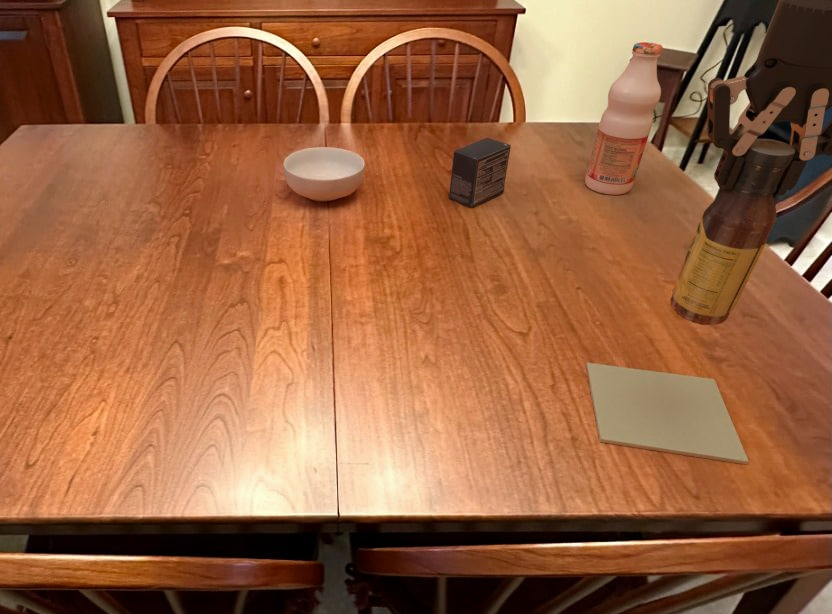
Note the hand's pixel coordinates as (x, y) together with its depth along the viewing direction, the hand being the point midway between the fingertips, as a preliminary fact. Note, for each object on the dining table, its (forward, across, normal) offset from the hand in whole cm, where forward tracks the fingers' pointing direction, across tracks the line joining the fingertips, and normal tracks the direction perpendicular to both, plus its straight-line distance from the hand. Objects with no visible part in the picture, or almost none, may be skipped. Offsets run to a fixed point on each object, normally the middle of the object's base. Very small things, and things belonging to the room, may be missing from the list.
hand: (750, 189), depth 60 cm
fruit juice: (+30, +3, +65) cm, 72 cm away
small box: (+30, -24, +55) cm, 67 cm away
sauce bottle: (+15, 0, 0) cm, 15 cm away
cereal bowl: (+30, -55, +50) cm, 80 cm away
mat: (+30, 0, -2) cm, 30 cm away
